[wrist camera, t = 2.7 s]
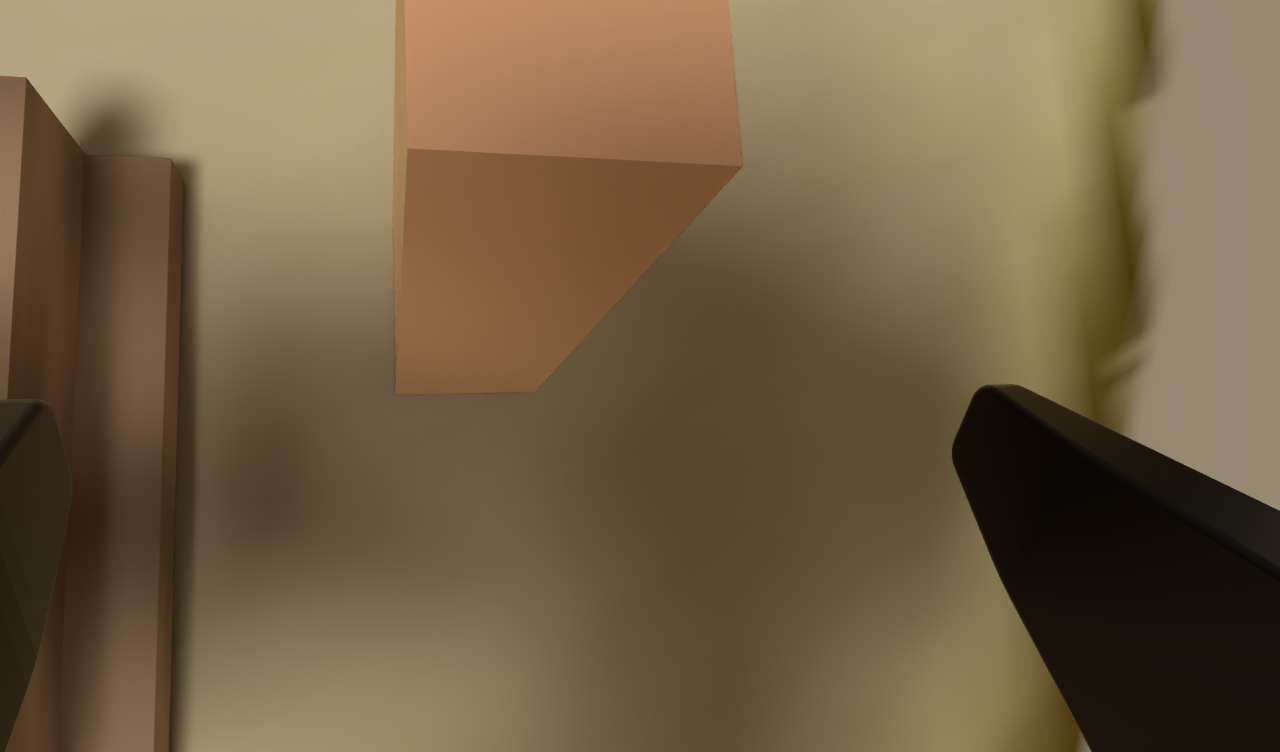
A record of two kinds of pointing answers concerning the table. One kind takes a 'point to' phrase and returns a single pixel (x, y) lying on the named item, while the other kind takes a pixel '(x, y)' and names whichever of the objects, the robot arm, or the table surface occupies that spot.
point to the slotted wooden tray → (96, 417)
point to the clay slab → (544, 172)
